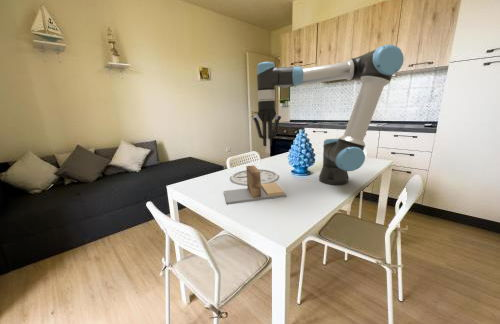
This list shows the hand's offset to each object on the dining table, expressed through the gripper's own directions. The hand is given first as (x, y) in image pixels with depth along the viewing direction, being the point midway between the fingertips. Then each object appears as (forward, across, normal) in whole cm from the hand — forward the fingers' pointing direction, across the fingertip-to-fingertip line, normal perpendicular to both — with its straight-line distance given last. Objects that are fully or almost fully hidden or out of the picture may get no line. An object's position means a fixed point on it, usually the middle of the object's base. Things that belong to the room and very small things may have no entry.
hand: (267, 152), depth 102 cm
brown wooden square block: (+19, +7, 0) cm, 20 cm away
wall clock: (+21, +1, -26) cm, 33 cm away
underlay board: (+20, +7, 0) cm, 21 cm away
